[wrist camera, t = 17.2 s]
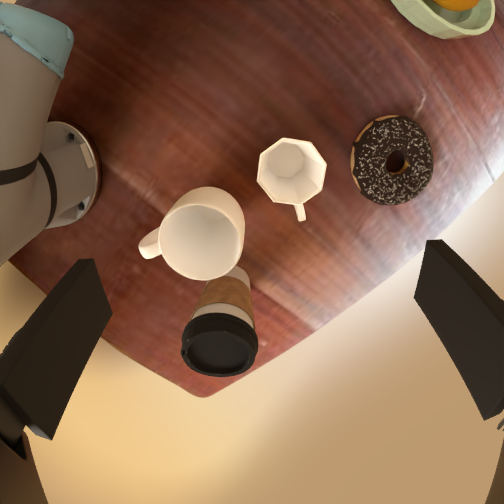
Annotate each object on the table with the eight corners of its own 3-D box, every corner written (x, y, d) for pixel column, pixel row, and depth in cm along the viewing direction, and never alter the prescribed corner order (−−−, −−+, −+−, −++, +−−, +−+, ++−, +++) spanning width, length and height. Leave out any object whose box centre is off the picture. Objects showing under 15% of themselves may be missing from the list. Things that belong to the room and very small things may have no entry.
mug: (236, 165, 36) (226, 191, 26) (255, 226, 40) (253, 271, 30) (149, 193, 38) (113, 227, 28) (171, 248, 42) (146, 295, 31)
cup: (306, 124, 34) (319, 129, 26) (323, 200, 38) (338, 224, 31) (249, 138, 35) (246, 147, 27) (270, 213, 39) (273, 240, 32)
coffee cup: (202, 251, 42) (178, 322, 28) (263, 261, 42) (265, 335, 29) (198, 300, 46) (178, 375, 32) (253, 308, 46) (250, 386, 33)
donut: (437, 160, 35) (453, 167, 31) (381, 217, 39) (392, 228, 35) (390, 97, 31) (403, 98, 28) (327, 159, 36) (335, 166, 32)
